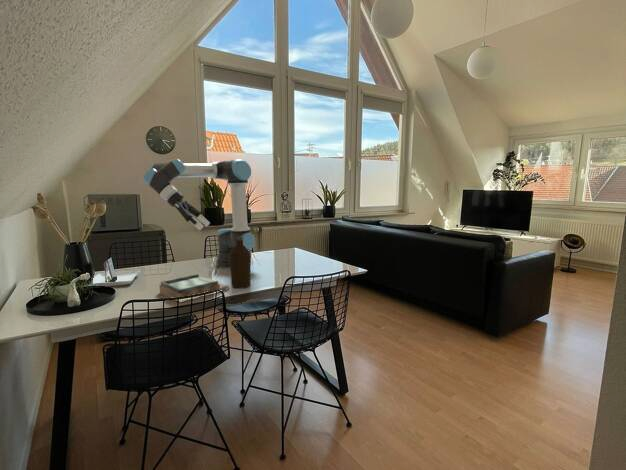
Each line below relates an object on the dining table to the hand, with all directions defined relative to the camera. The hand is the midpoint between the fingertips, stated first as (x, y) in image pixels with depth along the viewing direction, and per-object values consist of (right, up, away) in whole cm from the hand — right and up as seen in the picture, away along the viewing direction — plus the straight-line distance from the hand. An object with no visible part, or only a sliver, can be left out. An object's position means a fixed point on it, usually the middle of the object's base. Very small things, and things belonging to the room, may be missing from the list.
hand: (205, 226), depth 170 cm
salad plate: (-51, -29, +12) cm, 60 cm away
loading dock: (-4, -31, -4) cm, 32 cm away
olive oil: (+17, -30, +5) cm, 35 cm away
